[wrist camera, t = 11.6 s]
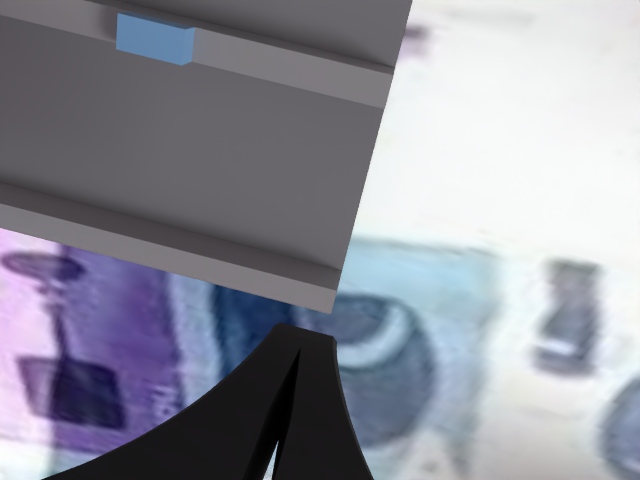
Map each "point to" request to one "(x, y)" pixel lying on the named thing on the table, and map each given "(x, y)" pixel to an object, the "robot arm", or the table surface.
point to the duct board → (197, 132)
